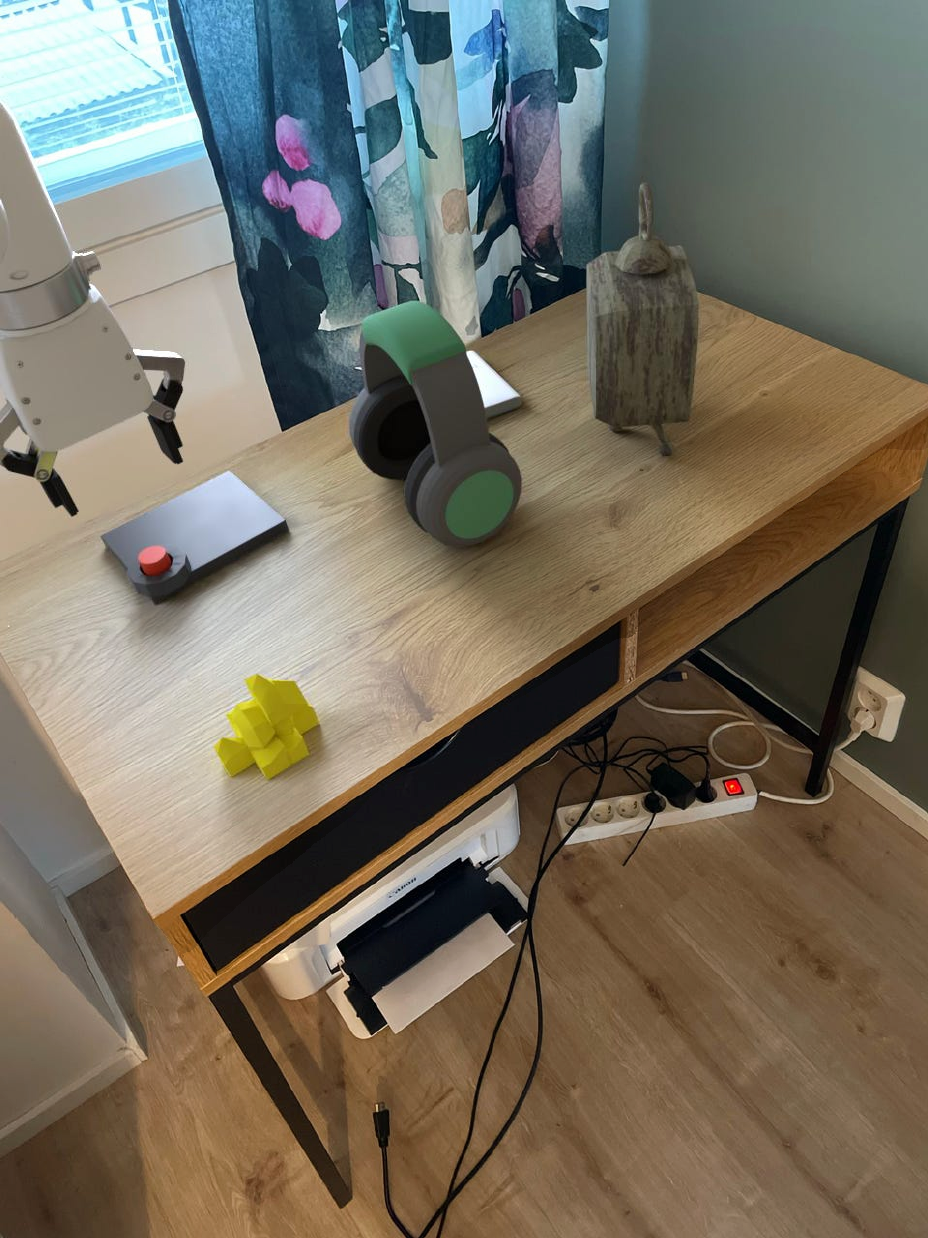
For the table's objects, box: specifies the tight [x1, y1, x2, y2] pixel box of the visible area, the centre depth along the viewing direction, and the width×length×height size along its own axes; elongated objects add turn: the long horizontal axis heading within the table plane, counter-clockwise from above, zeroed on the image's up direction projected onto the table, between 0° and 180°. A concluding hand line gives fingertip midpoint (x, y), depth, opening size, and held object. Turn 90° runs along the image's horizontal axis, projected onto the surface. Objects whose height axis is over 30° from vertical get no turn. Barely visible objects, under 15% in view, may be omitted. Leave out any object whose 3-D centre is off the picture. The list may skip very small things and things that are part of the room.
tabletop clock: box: [585, 181, 699, 457], centre depth 87 cm, size 14×9×25 cm, turn 179°
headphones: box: [348, 300, 523, 547], centre depth 84 cm, size 19×11×20 cm, turn 29°
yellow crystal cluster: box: [213, 673, 320, 781], centre depth 69 cm, size 6×8×8 cm
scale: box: [100, 470, 290, 605], centre depth 89 cm, size 16×13×3 cm
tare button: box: [138, 546, 171, 576], centre depth 84 cm, size 3×3×2 cm
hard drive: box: [466, 350, 523, 420], centre depth 104 cm, size 2×8×12 cm
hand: (122, 482), depth 77 cm, fingers open, 9 cm apart
